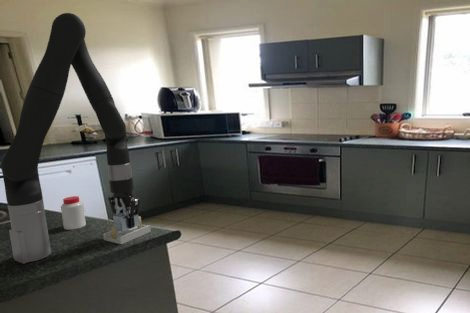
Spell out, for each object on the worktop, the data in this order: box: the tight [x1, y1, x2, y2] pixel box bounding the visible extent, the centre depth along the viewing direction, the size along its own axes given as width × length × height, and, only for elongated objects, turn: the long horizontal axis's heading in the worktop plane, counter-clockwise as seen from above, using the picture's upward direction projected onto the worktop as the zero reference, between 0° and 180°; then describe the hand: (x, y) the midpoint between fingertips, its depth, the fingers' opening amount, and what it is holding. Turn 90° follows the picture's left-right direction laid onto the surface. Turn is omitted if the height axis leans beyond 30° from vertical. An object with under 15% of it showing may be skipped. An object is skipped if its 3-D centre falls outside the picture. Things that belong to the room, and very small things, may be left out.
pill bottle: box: [60, 195, 87, 231], centre depth 139 cm, size 8×8×11 cm
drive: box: [112, 210, 139, 232], centre depth 124 cm, size 7×4×5 cm, turn 145°
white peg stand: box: [103, 215, 152, 245], centre depth 124 cm, size 12×9×5 cm
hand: (127, 226), depth 124 cm, fingers closed on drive, 4 cm apart
